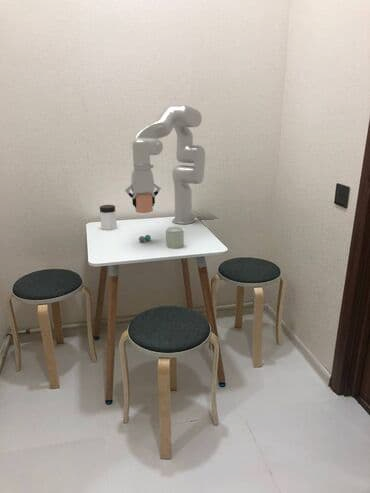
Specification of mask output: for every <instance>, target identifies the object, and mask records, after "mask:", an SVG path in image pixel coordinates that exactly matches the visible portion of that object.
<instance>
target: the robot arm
mask: <svg viewBox="0 0 370 493" xmlns="http://www.w3.org/2000/svg"><path fill="white" fill-rule="evenodd" d="M202 119H203V118H202V114H201V112H200V111H199V109H196V108H194V107H191V106H189V105H184V104H183V105H169V106H167V107H165V109H163V111H162V112H161V114H160V115H159V117H158V118H157V119H156V121H155V122H153V123H151V124H149V125H148V126H146V127H144V128H143V129H141V130H140V131H139V132H138V133H137V134H136V136H135V138H134V139H133V141H132V146H131V149H132V161H133V162H132V164H133V170H132V171H131V181H130V182H131V184H130V185H129V186H128V187H127V188H125V190H124V191H125V193H126V194H127V195H128V196H129V197H130V198H132V199H131V200H132V206H133V207H134V208H135V207H136V199H135V197H136V195H137V194H138V193H151V195H152V203H153V207H154V206H155V204H156V199H155V198H156V196H157V195H158V194H159V192H160V191H161V186H158V185H157V184H156V183H155V181H154V174H153V170H152V169H153V168H154V164H151V156H159V155H160V154H161V153H162V151H163V149H164V144H163V142H162V141H161V140H160V139H162V138H165V137H168V136H169V135H170V133H171V132H172V131H173V129H174V131H175V133H176V138H177V139H176V151H175V152H176V153H175V156H176V160H177V162H179V163H183V164H184V165H183V164H181V165H176V166H174V167H173V169H172V172H171V174H172V181H173V187H174V217H175V218H173V219H172V223H174V224H176V225H188V224H189V225H190V224H193V223H194V222H195V218H196V219H198V218H201V215H200V214H197V213H192V211H193V207H192V203H193V202H192V201H193V200H192V198H193V197H192V196H193V195H192V188H191V186H190V184H192V185H200V184H202V183H203V181H204V177H205V167H206V151H205V148H204V147H203V146H202V145H199V144H198V145H197V144H193V142H194V141H193V140H194V137H193V133H192V131H191V129H190V128H198V127H199V126H200V125H201V124H202ZM185 164H193V165H185ZM155 189H156V190H155ZM130 191H131V192H133V193H131V192H130Z"/></svg>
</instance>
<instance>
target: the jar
mask: <svg viewBox="0 0 370 493" xmlns="http://www.w3.org/2000/svg"><path fill="white" fill-rule="evenodd" d="M99 214H100V226H101V230H103V231H104V230H105V231H111V230H115V229H118V224H117V212H116V206H115V205H113V204H103V205H100V206H99Z"/></svg>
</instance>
